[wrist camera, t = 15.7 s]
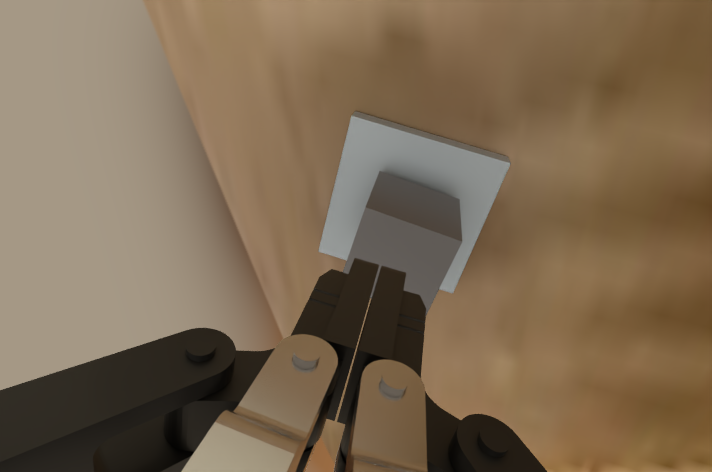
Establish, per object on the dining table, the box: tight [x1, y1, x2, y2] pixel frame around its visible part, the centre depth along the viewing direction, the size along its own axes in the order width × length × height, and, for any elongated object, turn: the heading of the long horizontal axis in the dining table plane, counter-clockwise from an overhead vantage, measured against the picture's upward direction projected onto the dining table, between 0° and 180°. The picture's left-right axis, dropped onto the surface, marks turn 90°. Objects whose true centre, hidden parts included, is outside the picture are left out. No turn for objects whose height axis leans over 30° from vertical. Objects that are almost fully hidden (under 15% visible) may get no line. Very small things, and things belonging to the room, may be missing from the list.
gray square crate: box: [343, 171, 462, 314], centre depth 28 cm, size 6×6×6 cm
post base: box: [318, 111, 511, 293], centre depth 30 cm, size 11×11×8 cm
